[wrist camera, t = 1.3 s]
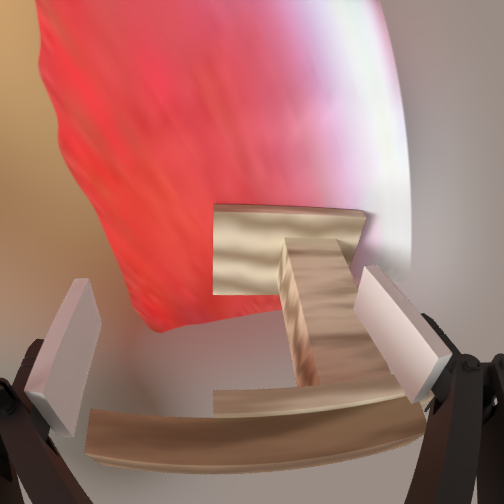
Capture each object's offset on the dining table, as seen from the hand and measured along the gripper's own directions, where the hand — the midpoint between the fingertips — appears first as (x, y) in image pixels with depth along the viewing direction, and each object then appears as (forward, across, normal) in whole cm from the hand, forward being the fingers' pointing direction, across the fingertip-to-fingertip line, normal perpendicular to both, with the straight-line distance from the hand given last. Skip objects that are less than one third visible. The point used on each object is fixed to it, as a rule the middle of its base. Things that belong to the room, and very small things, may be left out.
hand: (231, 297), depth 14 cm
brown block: (+2, +3, -15) cm, 15 cm away
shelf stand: (+31, +12, -14) cm, 36 cm away
